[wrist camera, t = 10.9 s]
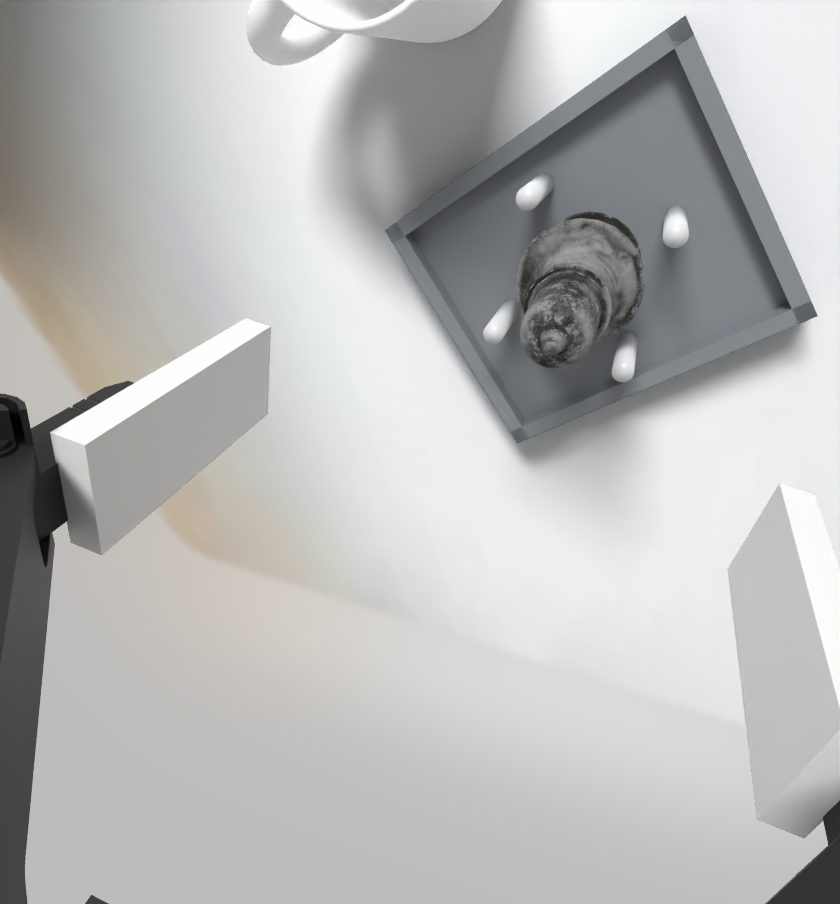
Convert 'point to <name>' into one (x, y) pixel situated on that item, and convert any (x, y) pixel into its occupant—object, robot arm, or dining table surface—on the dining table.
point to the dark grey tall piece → (577, 287)
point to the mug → (356, 23)
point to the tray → (639, 208)
